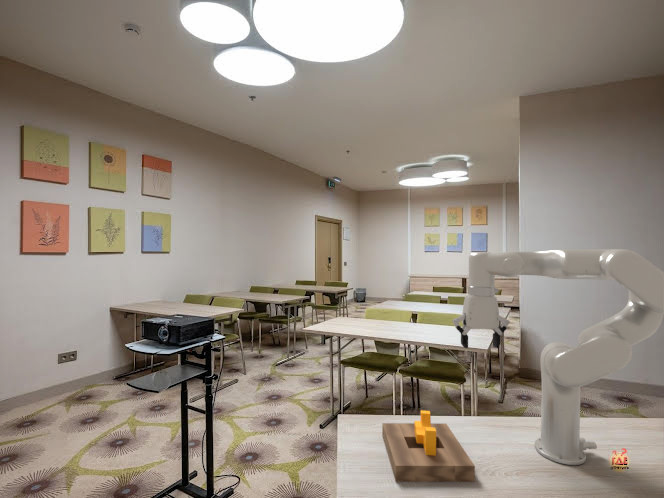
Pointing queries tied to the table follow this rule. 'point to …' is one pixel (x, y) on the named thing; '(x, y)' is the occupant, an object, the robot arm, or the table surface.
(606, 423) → the table surface
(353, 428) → the table surface
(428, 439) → the orange curved block
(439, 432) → the cutout shelf
